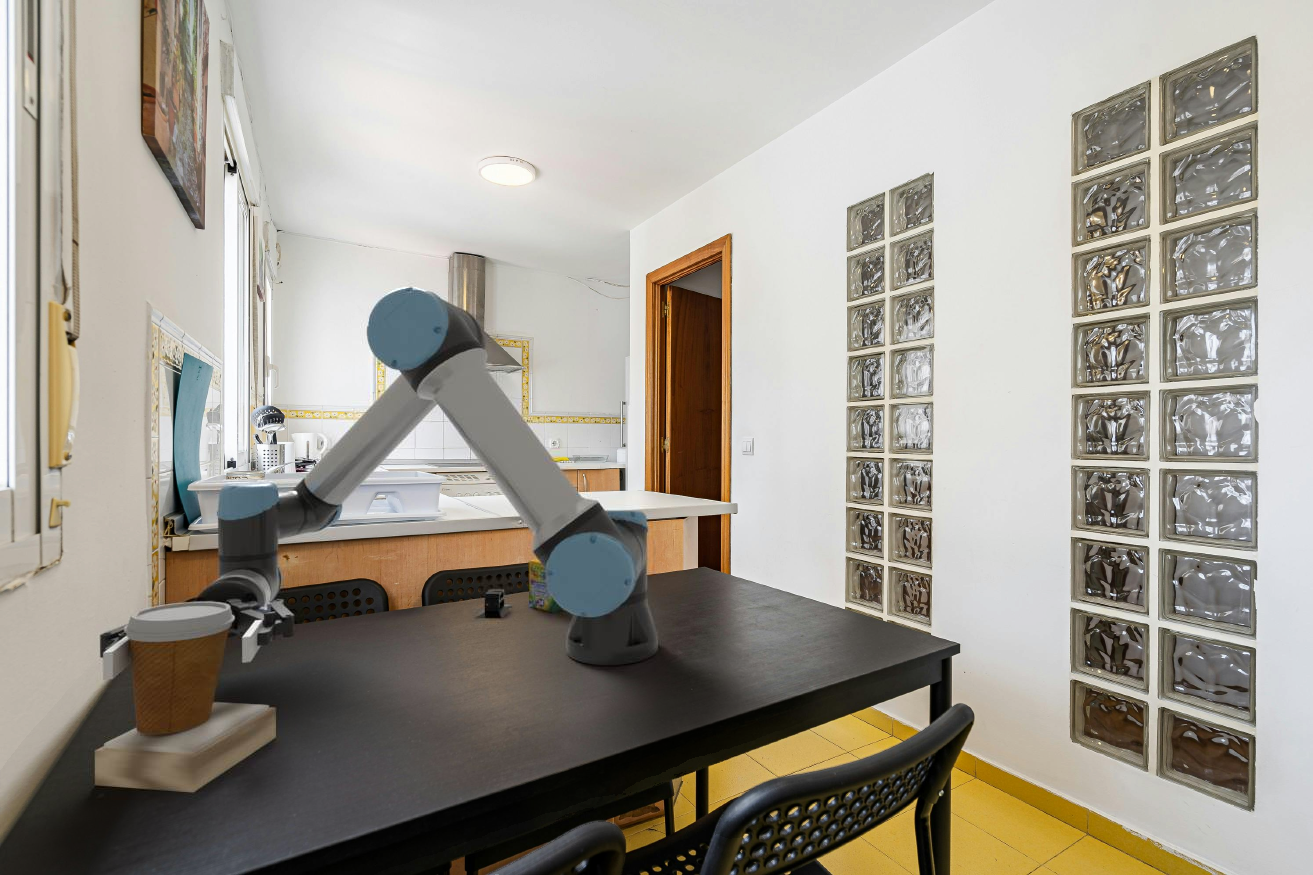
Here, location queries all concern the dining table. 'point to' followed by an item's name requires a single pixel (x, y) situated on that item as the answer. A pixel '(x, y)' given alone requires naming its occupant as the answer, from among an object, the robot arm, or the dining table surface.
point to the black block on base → (494, 605)
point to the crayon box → (540, 588)
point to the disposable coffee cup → (176, 663)
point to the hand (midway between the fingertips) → (179, 657)
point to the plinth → (186, 750)
